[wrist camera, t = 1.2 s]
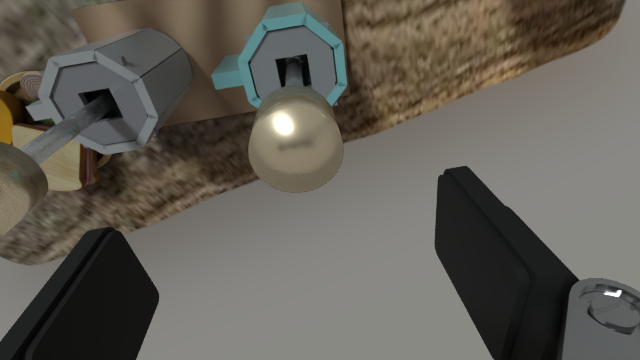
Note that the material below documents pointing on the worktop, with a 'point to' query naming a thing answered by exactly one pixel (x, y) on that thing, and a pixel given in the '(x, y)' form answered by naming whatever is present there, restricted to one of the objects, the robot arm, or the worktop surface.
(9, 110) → the toy sandwich meal
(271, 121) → the beige knobbed plunger
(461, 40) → the worktop surface
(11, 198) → the beige knobbed rod
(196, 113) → the board
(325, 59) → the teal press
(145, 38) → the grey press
